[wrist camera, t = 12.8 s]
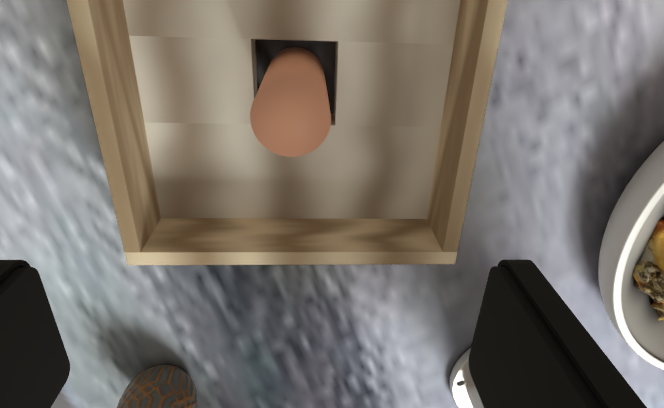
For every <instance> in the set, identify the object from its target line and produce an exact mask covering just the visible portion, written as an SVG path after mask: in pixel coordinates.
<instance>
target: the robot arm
mask: <svg viewBox="0 0 664 408" xmlns="http://www.w3.org/2000/svg"><path fill="white" fill-rule="evenodd" d="M69 372H70V363H69V359H68V356H67V353H66V350H65V348H64V345H63V342H62V339H61V336H60V333H59V330H58V327H57V324H56V322H55V319H54V316H53V313H52V310H51V307H50V304H49V301H48V298H47V296H46V293H45V290H44V287H43V284H42V281H41V278H40V275H39V273H38V271H37V270H36V269H35V268H33V267H30V265H29V264H28V263H27V262H26V261H23V260H0V408H51V406H52V404H53V403H54V401H55V399H56V398H57V396H58V394H59V393H60V391H61V389H62V388H63V386H64V384H65V383H66V381H67V379H68V376H69ZM450 390H451V393H452V396H453V399H454V401H455V403H456V404H457V406H458V407H459V408H647V407H646V406H645V405H644V403H643V402H642V401H641V400H640V398H639V397H638V396H637V394H636V393H635V392H634V391H633V389H632V388H631V387H630V386H629V384H628V383H627V382H626V380H625V379H624V378H623V377H622V375H621V374H620V373H619V371H618V370H617V369H616V368H615V366H614V365H613V364H612V363H611V361H610V360H609V359H608V357H607V356H606V355H605V354H604V352H603V351H602V350H601V348H600V347H599V346H598V345H597V343H596V342H595V341H594V339H593V338H592V337H591V336H590V334H589V333H588V332H587V331H586V329H585V328H584V327H583V325H582V324H581V323H580V322H579V320H578V319H577V318H576V316H575V315H574V314H573V313H572V311H571V310H570V309H569V308H568V306H567V305H566V304H565V302H564V301H563V300H562V299H561V297H560V296H559V295H558V293H557V292H556V291H555V290H554V288H553V287H552V286H551V285H550V283H549V282H548V281H547V279H546V278H545V277H544V276H543V274H542V273H541V272H540V270H539V269H538V268H537V267H536V265H535V264H534V263H533V262H532V261H530V260H502V261H500V262H499V264H498V267H492V268H491V270H490V273H489V277H488V281H487V285H486V289H485V293H484V297H483V301H482V305H481V309H480V313H479V317H478V321H477V326H476V330H475V334H474V338H473V342H472V346H471V348H470V349H469V350H467V351H466V352H465V353H464V354H463V355H462V356H461V357H460V359H459V360H458V361H457V362H456V364H455V366H454V367H453V369H452V372H451V375H450Z"/></svg>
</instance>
